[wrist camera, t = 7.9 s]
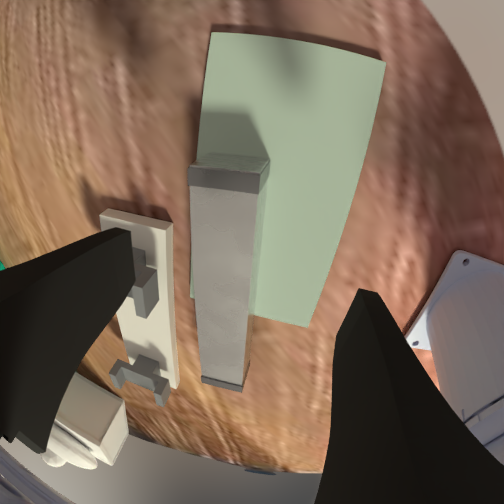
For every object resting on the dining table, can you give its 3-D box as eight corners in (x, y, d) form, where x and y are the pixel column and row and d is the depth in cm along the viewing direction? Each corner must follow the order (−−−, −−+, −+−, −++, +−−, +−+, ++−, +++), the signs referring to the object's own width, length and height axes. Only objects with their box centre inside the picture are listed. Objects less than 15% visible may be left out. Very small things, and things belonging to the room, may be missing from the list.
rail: (270, 158, 13) (260, 173, 11) (249, 366, 22) (241, 393, 20) (208, 152, 14) (187, 165, 12) (211, 357, 22) (201, 383, 20)
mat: (383, 63, 10) (386, 62, 10) (308, 321, 19) (307, 327, 19) (215, 34, 11) (211, 32, 11) (193, 291, 20) (190, 297, 19)
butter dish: (57, 387, 45) (21, 443, 32) (34, 340, 35) (-18, 410, 22) (129, 431, 45) (98, 495, 32) (125, 398, 35) (79, 486, 21)
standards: (174, 223, 17) (139, 260, 14) (180, 381, 27) (165, 414, 24) (107, 207, 18) (66, 238, 14) (136, 365, 28) (118, 395, 24)
